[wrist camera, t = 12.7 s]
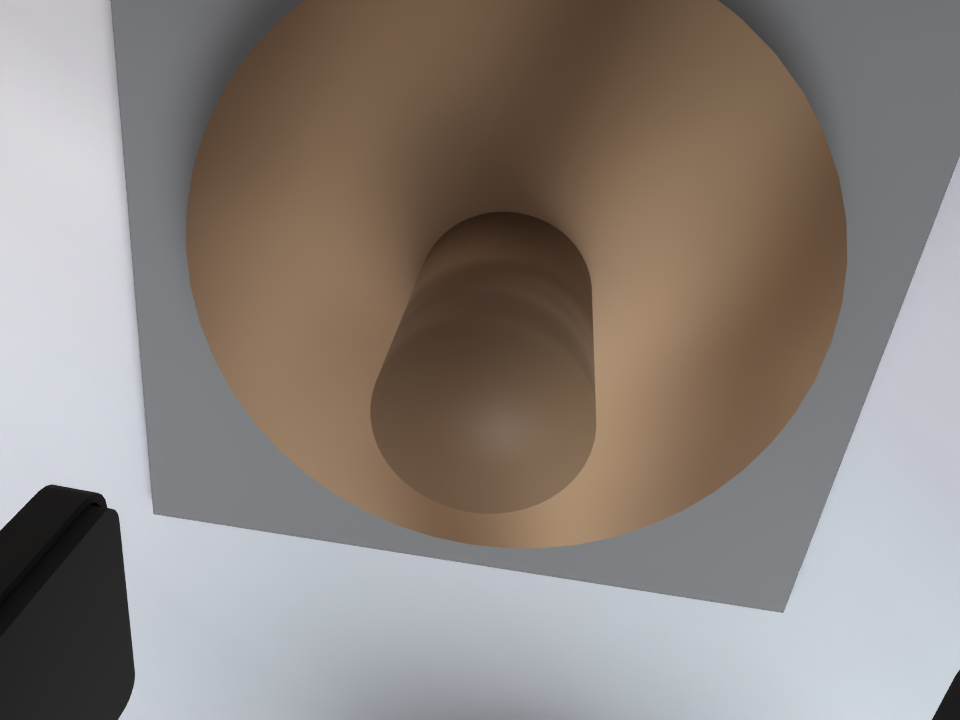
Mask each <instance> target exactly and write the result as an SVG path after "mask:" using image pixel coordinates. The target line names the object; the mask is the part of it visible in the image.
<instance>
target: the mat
mask: <svg viewBox="0 0 960 720" xmlns="http://www.w3.org/2000/svg"><path fill="white" fill-rule="evenodd" d="M302 1H304V0H111V9H112V21H113V33H114V45H115V57H116V69H117V81H118V93H119V105H120V117H121V129H122V141H123V154H124V166H125V178H126V190H127V202H128V214H129V226H130V238H131V250H132V262H133V274H134V286H135V298H136V310H137V322H138V334H139V346H140V358H141V370H142V382H143V394H144V406H145V418H146V430H147V443H148V455H149V467H150V479H151V491H152V503H153V514H157V515H163V516H169V517H176V518H182V519H188V520H195V521H201V522H208V523H214V524H220V525H227V526H233V527H239V528H246V529H252V530H259V531H265V532H271V533H278V534H284V535H290V536H297V537H303V538H310V539H316V540H322V541H329V542H335V543H341V544H348V545H354V546H361V547H367V548H373V549H380V550H386V551H392V552H399V553H405V554H412V555H418V556H424V557H431V558H437V559H443V560H450V561H456V562H463V563H469V564H475V565H482V566H488V567H494V568H501V569H507V570H514V571H520V572H526V573H533V574H539V575H545V576H552V577H558V578H565V579H571V580H577V581H584V582H590V583H596V584H603V585H609V586H616V587H622V588H628V589H635V590H641V591H647V592H654V593H660V594H667V595H673V596H679V597H686V598H692V599H698V600H705V601H711V602H718V603H724V604H730V605H737V606H743V607H749V608H756V609H762V610H769V611H775V612H781V613H783V612H784V609H785V607H786V604H787V602H788V599H789V596H790V594H791V591H792V589H793V586H794V583H795V581H796V578H797V576H798V573H799V570H800V568H801V565H802V563H803V560H804V557H805V555H806V552H807V550H808V547H809V545H810V542H811V539H812V537H813V534H814V532H815V529H816V526H817V524H818V521H819V519H820V516H821V513H822V511H823V508H824V506H825V503H826V500H827V498H828V495H829V493H830V490H831V488H832V485H833V482H834V480H835V477H836V475H837V472H838V469H839V467H840V464H841V462H842V459H843V456H844V454H845V451H846V449H847V446H848V444H849V441H850V438H851V436H852V433H853V431H854V428H855V425H856V423H857V420H858V418H859V415H860V412H861V410H862V407H863V405H864V402H865V399H866V397H867V394H868V392H869V389H870V387H871V384H872V381H873V379H874V376H875V374H876V371H877V368H878V366H879V363H880V361H881V358H882V355H883V353H884V350H885V348H886V345H887V342H888V340H889V337H890V335H891V332H892V330H893V327H894V324H895V322H896V319H897V317H898V314H899V311H900V309H901V306H902V304H903V301H904V298H905V296H906V293H907V291H908V288H909V285H910V283H911V280H912V278H913V275H914V273H915V270H916V267H917V265H918V262H919V260H920V257H921V254H922V252H923V249H924V247H925V244H926V241H927V239H928V236H929V234H930V231H931V228H932V226H933V223H934V221H935V218H936V216H937V213H938V210H939V208H940V205H941V203H942V200H943V197H944V195H945V192H946V190H947V187H948V184H949V182H950V179H951V177H952V174H953V172H954V169H955V166H956V164H957V161H958V159H959V156H960V0H718V1H720V2H721V3H722V4H724V5H725V6H726V7H728V8H729V9H730V10H731V11H733V12H734V13H735V14H736V15H738V16H739V17H740V18H741V19H742V20H743V21H744V22H745V23H746V24H747V25H748V26H749V27H750V28H751V29H752V30H753V31H754V32H755V33H756V34H757V35H758V36H759V37H760V38H761V39H762V40H763V41H764V42H765V43H766V44H767V45H768V46H769V47H770V48H771V49H772V50H773V52H774V53H775V54H776V55H777V56H778V58H779V59H780V61H781V62H782V63H783V65H784V66H785V68H786V69H787V70H788V72H789V73H790V74H791V76H792V77H793V79H794V80H795V81H796V83H797V84H798V86H799V87H800V88H801V90H802V91H803V93H804V95H805V97H806V98H807V100H808V102H809V104H810V106H811V108H812V110H813V112H814V114H815V116H816V118H817V120H818V122H819V124H820V126H821V128H822V130H823V132H824V134H825V136H826V139H827V142H828V145H829V148H830V151H831V154H832V157H833V160H834V163H835V166H836V169H837V172H838V175H839V180H840V186H841V192H842V197H843V203H844V209H845V214H846V225H847V269H846V277H845V285H844V293H843V301H842V306H841V310H840V313H839V317H838V321H837V324H836V328H835V332H834V335H833V339H832V343H831V345H830V347H829V350H828V352H827V354H826V356H825V359H824V361H823V363H822V366H821V368H820V370H819V373H818V375H817V377H816V379H815V381H814V383H813V384H812V386H811V388H810V389H809V391H808V393H807V394H806V396H805V398H804V399H803V401H802V403H801V404H800V406H799V408H798V409H797V411H796V413H795V414H794V415H793V416H792V418H791V419H790V420H789V421H788V423H787V424H786V425H785V426H784V428H783V429H782V430H781V431H780V433H779V434H778V435H777V436H776V438H775V439H774V440H773V442H772V443H771V444H770V445H769V446H768V447H767V448H766V449H765V450H763V451H762V452H761V453H760V454H759V455H758V456H757V457H756V458H755V459H754V460H753V461H752V462H751V463H750V464H749V465H748V466H747V467H746V468H745V469H744V470H743V471H741V472H740V473H739V474H737V475H736V476H735V477H733V478H732V479H731V480H729V481H728V482H727V483H725V484H724V485H723V486H722V487H720V488H719V489H718V490H716V491H715V492H713V493H712V494H710V495H708V496H707V497H705V498H703V499H702V500H700V501H698V502H697V503H695V504H693V505H691V506H690V507H688V508H686V509H685V510H683V511H681V512H679V513H676V514H674V515H672V516H670V517H668V518H665V519H663V520H661V521H659V522H656V523H654V524H652V525H650V526H647V527H644V528H641V529H638V530H635V531H631V532H628V533H625V534H622V535H619V536H616V537H612V538H608V539H603V540H598V541H593V542H588V543H584V544H579V545H569V546H560V547H550V548H499V547H489V546H480V545H470V544H465V543H460V542H455V541H451V540H446V539H441V538H436V537H432V536H429V535H426V534H423V533H420V532H417V531H413V530H410V529H407V528H404V527H401V526H398V525H396V524H394V523H391V522H389V521H387V520H384V519H382V518H380V517H377V516H375V515H373V514H370V513H368V512H366V511H364V510H362V509H361V508H359V507H357V506H355V505H354V504H352V503H350V502H348V501H346V500H345V499H343V498H341V497H339V496H338V495H336V494H334V493H333V492H331V491H330V490H329V489H327V488H326V487H324V486H323V485H322V484H320V483H319V482H317V481H316V480H315V479H313V478H312V477H310V476H309V475H307V474H306V473H305V472H304V471H303V470H301V469H300V468H299V467H298V466H297V465H296V464H295V463H294V462H292V461H291V460H290V459H289V458H288V457H287V456H286V455H285V454H283V453H282V452H281V451H280V450H279V449H278V448H277V447H276V446H275V445H274V444H273V443H272V442H271V440H270V439H269V438H268V437H267V436H266V435H265V434H264V433H263V432H262V430H261V429H260V428H259V427H258V426H257V425H256V424H255V423H254V422H253V420H252V419H251V417H250V416H249V415H248V413H247V412H246V410H245V409H244V408H243V406H242V405H241V403H240V402H239V401H238V399H237V398H236V396H235V395H234V394H233V392H232V391H231V389H230V387H229V385H228V383H227V381H226V380H225V378H224V376H223V374H222V372H221V370H220V369H219V367H218V365H217V363H216V361H215V359H214V357H213V355H212V352H211V350H210V347H209V345H208V342H207V340H206V337H205V335H204V332H203V330H202V327H201V325H200V321H199V317H198V313H197V310H196V306H195V302H194V298H193V294H192V290H191V286H190V277H189V269H188V261H187V252H186V218H187V203H188V197H189V190H190V184H191V178H192V171H193V166H194V163H195V160H196V157H197V154H198V150H199V147H200V144H201V141H202V138H203V134H204V131H205V128H206V126H207V124H208V122H209V120H210V118H211V116H212V113H213V111H214V109H215V107H216V105H217V103H218V101H219V99H220V97H221V95H222V93H223V91H224V89H225V87H226V86H227V84H228V83H229V81H230V80H231V79H232V77H233V76H234V74H235V73H236V71H237V70H238V68H239V67H240V65H241V64H242V62H243V61H244V59H245V58H246V56H247V55H248V53H249V52H250V51H251V50H252V49H253V48H254V47H255V46H256V45H257V44H258V43H259V41H260V40H261V39H262V38H263V37H264V36H265V35H266V34H267V33H268V32H269V31H270V30H271V28H272V27H273V26H274V25H275V24H276V23H277V22H278V21H279V20H280V19H281V18H282V17H284V16H285V15H286V14H287V13H289V12H290V11H291V10H292V9H294V8H295V7H296V6H297V5H299V4H300V3H301V2H302Z"/></svg>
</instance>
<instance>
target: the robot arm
mask: <svg viewBox="0 0 960 720" xmlns="http://www.w3.org/2000/svg"><path fill="white" fill-rule="evenodd" d="M134 679H135V670H134V660H133V650H132V640H131V631H130V621H129V611H128V601H127V591H126V582H125V572H124V562H123V552H122V542H121V533H120V523H119V517H118V513H117V512H116V510H114V509H110V508H107V505H106V500H105V498H104V497H103V496H102V494H99V493H95V492H89V491H84V490H79V489H73V488H68V487H62V486H57V485H49V486H45V487H44V488H43V489H41V490H40V491H39V492H38V493H37V494H36V495H35V496H34V497H33V498H32V499H31V500H30V501H29V502H28V503H27V504H26V505H25V506H24V507H23V508H22V509H21V510H20V511H19V512H18V513H17V514H16V515H15V516H14V517H13V518H12V519H11V520H10V521H9V522H8V523H7V524H6V525H5V526H4V528H3V529H2V530H1V531H0V720H118V719H119V717H120V715H121V714H122V712H123V711H124V709H125V707H126V705H127V703H128V701H129V698H130V696H131V693H132V689H133V686H134ZM932 720H960V670H959V672H958V673H957V674H956V676H955V678H954V680H953V681H952V683H951V685H950V687H949V689H948V691H947V693H946V695H945V696H944V698H943V700H942V702H941V704H940V706H939V708H938V710H937V711H936V713H935V715H934V717H933V719H932Z"/></svg>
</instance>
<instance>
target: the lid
mask: <svg viewBox="0 0 960 720" xmlns="http://www.w3.org/2000/svg"><path fill="white" fill-rule="evenodd" d="M186 252H187V261H188V269H189V277H190V286H191V290H192V294H193V298H194V302H195V306H196V310H197V313H198V317H199V321H200V325H201V327H202V330H203V332H204V335H205V337H206V340H207V342H208V345H209V347H210V350H211V352H212V355H213V357H214V359H215V361H216V363H217V365H218V367H219V369H220V370H221V372H222V374H223V376H224V378H225V380H226V381H227V383H228V385H229V387H230V389H231V391H232V392H233V394H234V395H235V396H236V398H237V399H238V401H239V402H240V403H241V405H242V406H243V408H244V409H245V410H246V412H247V413H248V415H249V416H250V417H251V419H252V420H253V422H254V423H255V424H256V425H257V426H258V427H259V428H260V429H261V430H262V432H263V433H264V434H265V435H266V436H267V437H268V438H269V439H270V440H271V442H272V443H273V444H274V445H275V446H276V447H277V448H278V449H279V450H280V451H281V452H282V453H283V454H285V455H286V456H287V457H288V458H289V459H290V460H291V461H292V462H294V463H295V464H296V465H297V466H298V467H299V468H300V469H301V470H303V471H304V472H305V473H306V474H307V475H309V476H310V477H312V478H313V479H315V480H316V481H317V482H319V483H320V484H322V485H323V486H324V487H326V488H327V489H329V490H330V491H331V492H333V493H334V494H336V495H338V496H339V497H341V498H343V499H345V500H346V501H348V502H350V503H352V504H354V505H355V506H357V507H359V508H361V509H362V510H364V511H366V512H368V513H370V514H373V515H375V516H377V517H380V518H382V519H384V520H387V521H389V522H391V523H394V524H396V525H398V526H401V527H404V528H407V529H410V530H413V531H417V532H420V533H423V534H426V535H429V536H432V537H436V538H441V539H446V540H451V541H455V542H460V543H465V544H470V545H480V546H489V547H499V548H550V547H560V546H569V545H579V544H584V543H588V542H593V541H598V540H603V539H608V538H612V537H616V536H619V535H622V534H625V533H628V532H631V531H635V530H638V529H641V528H644V527H647V526H650V525H652V524H654V523H656V522H659V521H661V520H663V519H665V518H668V517H670V516H672V515H674V514H676V513H679V512H681V511H683V510H685V509H686V508H688V507H690V506H691V505H693V504H695V503H697V502H698V501H700V500H702V499H703V498H705V497H707V496H708V495H710V494H712V493H713V492H715V491H716V490H718V489H719V488H720V487H722V486H723V485H724V484H725V483H727V482H728V481H729V480H731V479H732V478H733V477H735V476H736V475H737V474H739V473H740V472H741V471H743V470H744V469H745V468H746V467H747V466H748V465H749V464H750V463H751V462H752V461H753V460H754V459H755V458H756V457H757V456H758V455H759V454H760V453H761V452H762V451H763V450H765V449H766V448H767V447H768V446H769V445H770V444H771V443H772V442H773V440H774V439H775V438H776V436H777V435H778V434H779V433H780V431H781V430H782V429H783V428H784V426H785V425H786V424H787V423H788V421H789V420H790V419H791V418H792V416H793V415H794V414H795V413H796V411H797V409H798V408H799V406H800V404H801V403H802V401H803V399H804V398H805V396H806V394H807V393H808V391H809V389H810V388H811V386H812V384H813V383H814V381H815V379H816V377H817V375H818V373H819V370H820V368H821V366H822V363H823V361H824V359H825V356H826V354H827V352H828V350H829V347H830V345H831V343H832V339H833V335H834V332H835V328H836V324H837V321H838V317H839V313H840V310H841V306H842V301H843V293H844V285H845V277H846V269H847V225H846V214H845V209H844V203H843V197H842V192H841V186H840V180H839V175H838V172H837V169H836V166H835V163H834V160H833V157H832V154H831V151H830V148H829V145H828V142H827V139H826V136H825V134H824V132H823V130H822V128H821V126H820V124H819V122H818V120H817V118H816V116H815V114H814V112H813V110H812V108H811V106H810V104H809V102H808V100H807V98H806V97H805V95H804V93H803V91H802V90H801V88H800V87H799V86H798V84H797V83H796V81H795V80H794V79H793V77H792V76H791V74H790V73H789V72H788V70H787V69H786V68H785V66H784V65H783V63H782V62H781V61H780V59H779V58H778V56H777V55H776V54H775V53H774V52H773V50H772V49H771V48H770V47H769V46H768V45H767V44H766V43H765V42H764V41H763V40H762V39H761V38H760V37H759V36H758V35H757V34H756V33H755V32H754V31H753V30H752V29H751V28H750V27H749V26H748V25H747V24H746V23H745V22H744V21H743V20H742V19H741V18H740V17H739V16H738V15H736V14H735V13H734V12H733V11H731V10H730V9H729V8H728V7H726V6H725V5H724V4H722V3H721V2H720V1H718V0H304V1H302V2H301V3H300V4H299V5H297V6H296V7H295V8H294V9H292V10H291V11H290V12H289V13H287V14H286V15H285V16H284V17H282V18H281V19H280V20H279V21H278V22H277V23H276V24H275V25H274V26H273V27H272V28H271V30H270V31H269V32H268V33H267V34H266V35H265V36H264V37H263V38H262V39H261V40H260V41H259V43H258V44H257V45H256V46H255V47H254V48H253V49H252V50H251V51H250V52H249V53H248V55H247V56H246V58H245V59H244V61H243V62H242V64H241V65H240V67H239V68H238V70H237V71H236V73H235V74H234V76H233V77H232V79H231V80H230V81H229V83H228V84H227V86H226V87H225V89H224V91H223V93H222V95H221V97H220V99H219V101H218V103H217V105H216V107H215V109H214V111H213V113H212V116H211V118H210V120H209V122H208V124H207V126H206V128H205V131H204V134H203V138H202V141H201V144H200V147H199V150H198V154H197V157H196V160H195V163H194V166H193V171H192V178H191V184H190V190H189V197H188V203H187V218H186Z"/></svg>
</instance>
